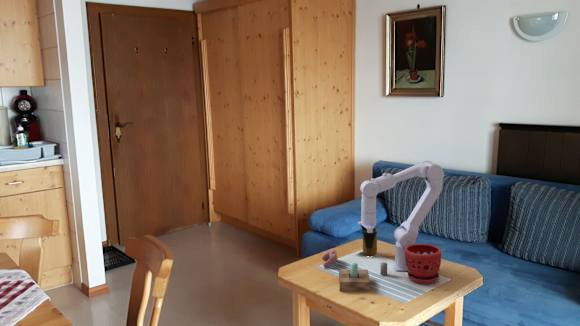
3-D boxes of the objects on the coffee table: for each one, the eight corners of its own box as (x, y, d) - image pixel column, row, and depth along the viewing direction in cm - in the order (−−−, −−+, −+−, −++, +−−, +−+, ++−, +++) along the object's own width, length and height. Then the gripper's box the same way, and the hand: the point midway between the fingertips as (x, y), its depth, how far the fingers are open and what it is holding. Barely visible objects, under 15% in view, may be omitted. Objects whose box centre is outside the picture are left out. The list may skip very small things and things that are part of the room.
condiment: (381, 253, 210) (381, 227, 208) (369, 259, 204) (369, 231, 202) (367, 249, 215) (366, 223, 213) (355, 255, 209) (355, 228, 207)
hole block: (367, 278, 185) (367, 269, 184) (370, 290, 174) (370, 281, 173) (338, 278, 186) (338, 269, 185) (339, 291, 175) (339, 281, 174)
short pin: (386, 273, 189) (386, 262, 188) (387, 276, 186) (387, 264, 186) (380, 273, 189) (380, 262, 188) (380, 276, 187) (380, 265, 186)
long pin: (357, 283, 181) (357, 262, 179) (358, 286, 178) (357, 265, 177) (350, 283, 181) (350, 262, 180) (350, 286, 179) (350, 265, 177)
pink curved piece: (332, 271, 196) (340, 257, 195) (322, 267, 196) (330, 252, 195) (330, 262, 206) (338, 248, 205) (321, 258, 206) (328, 244, 204)
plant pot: (447, 277, 183) (447, 247, 180) (429, 289, 174) (429, 257, 171) (416, 269, 192) (416, 240, 190) (398, 279, 183) (398, 249, 181)
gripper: (357, 206, 196) (356, 238, 199) (359, 216, 182) (359, 251, 184) (374, 206, 196) (374, 238, 198) (378, 216, 181) (377, 251, 184)
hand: (368, 244), depth 191 cm, fingers open, 7 cm apart
